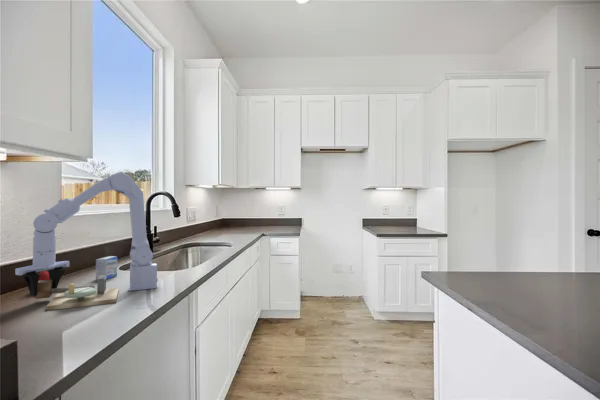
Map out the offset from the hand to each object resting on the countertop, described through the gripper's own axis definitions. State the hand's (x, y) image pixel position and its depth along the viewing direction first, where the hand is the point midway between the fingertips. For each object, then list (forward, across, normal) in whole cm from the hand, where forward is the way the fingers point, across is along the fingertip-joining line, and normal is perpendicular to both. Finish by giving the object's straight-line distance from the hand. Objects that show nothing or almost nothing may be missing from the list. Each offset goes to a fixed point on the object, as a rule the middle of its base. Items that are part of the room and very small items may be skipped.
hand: (43, 293), depth 101 cm
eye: (+2, +12, -11) cm, 16 cm away
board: (+3, +6, -11) cm, 13 cm away
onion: (+3, +7, +12) cm, 15 cm away
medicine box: (+3, +30, +12) cm, 33 cm away
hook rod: (+1, +5, -4) cm, 6 cm away
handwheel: (+1, +3, -13) cm, 13 cm away
